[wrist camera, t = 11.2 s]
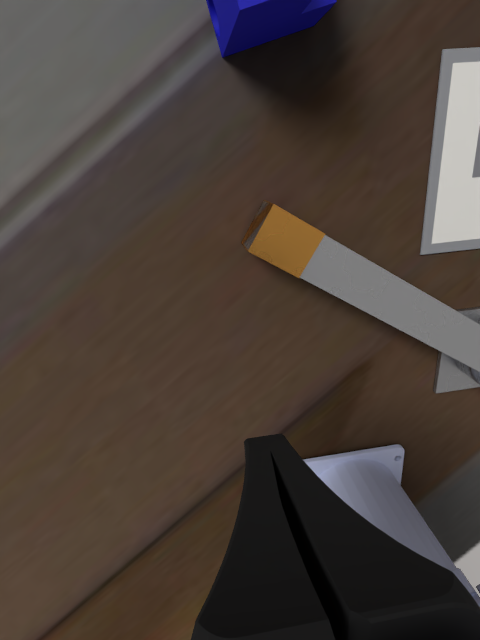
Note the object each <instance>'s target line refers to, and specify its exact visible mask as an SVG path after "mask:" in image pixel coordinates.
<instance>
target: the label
mask: <svg viewBox="0 0 480 640" xmlns="http://www.w3.org/2000/svg"><path fill="white" fill-rule="evenodd" d="M478 248H480V47H476V48H458V49H443V50H442V56H441V66H440V75H439V84H438V93H437V103H436V112H435V121H434V130H433V140H432V149H431V158H430V167H429V177H428V186H427V195H426V204H425V213H424V223H423V232H422V241H421V250H420V255H424V254H433V253H442V252H451V251H460V250H469V249H478Z"/></svg>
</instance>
